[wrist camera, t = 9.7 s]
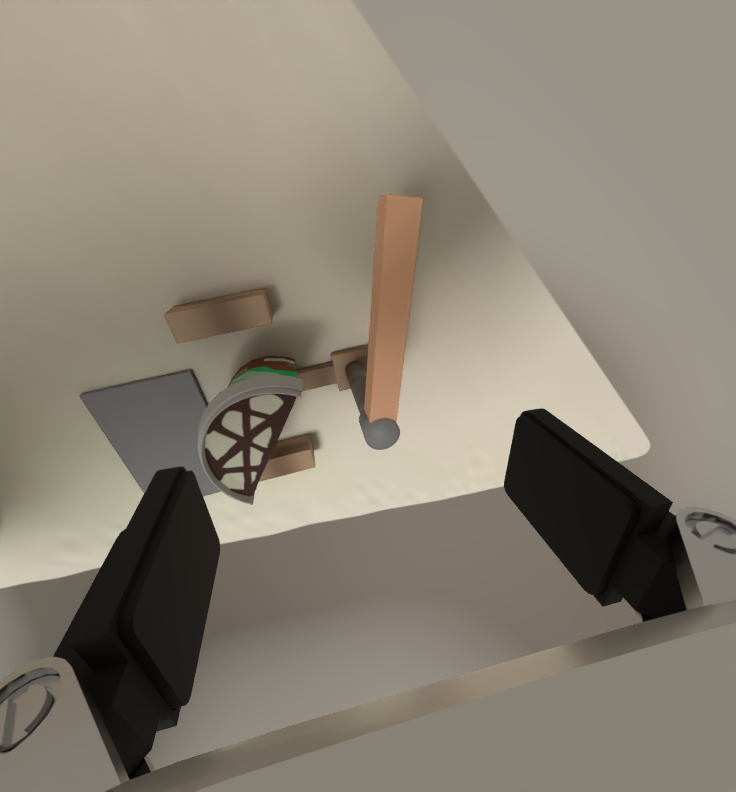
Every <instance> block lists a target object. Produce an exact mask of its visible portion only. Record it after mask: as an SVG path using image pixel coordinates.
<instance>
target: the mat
mask: <svg viewBox="0 0 736 792" xmlns="http://www.w3.org/2000/svg"><path fill="white" fill-rule="evenodd" d="M80 398H81V399H82V401H83V402H84V404H85V405H86V407H87V408H88V410H89V411H90V413H91V414H92V416H93V417H94V419H95V420H96V422H97V423H98V425H99V426H100V428H101V429H102V431H103V432H104V434H105V435H106V437H107V438H108V440H109V441H110V443H111V444H112V446H113V447H114V449H115V450H116V452H117V453H118V455H119V456H120V458H121V459H122V461H123V462H124V464H125V465H126V467H127V468H128V470H129V471H130V473H131V474H132V476H133V477H134V479H135V480H136V482H137V483H138V485H139V486H140V488H141V489H142V491H143V492H144V494H145V492H146V490H147V488H148V486H149V484H150V482H151V480H152V478H153V476H154V474H155V473H156V472H157V471H158V470H161V469H167V468H174V467H180V466H183V467H184V468H185V469H186V471H190V470H191V471H193V472H194V474H195V477H196V479H197V482H198V485H199V487H200V490H201V493H202V495H203V496H206V495H209V494H213V493H217V492H221V490H219V489H218V488H217V487H216V486H215V485H214V484H213V483H212V482H211V481H210V479H209V478H208V476H207V475H206V473H205V471H204V468H203V466H202V464H201V461H200V458H199V453H198V428H199V424H200V420H201V417H202V415H203V413H204V411H205V409H206V408H207V406H208V405H207V403H206V401H205V399H204V397H203V394H202V392H201V390H200V388H199V386H198V384H197V381H196V379H195V377H194V375H193V373H192V370H187V371H183V372H178V373H174V374H169V375H164V376H160V377H155V378H151V379H146V380H142V381H137V382H133V383H128V384H124V385H119V386H115V387H110V388H105V389H101V390H96V391H92V392H87V393H83V394H81V395H80Z"/></svg>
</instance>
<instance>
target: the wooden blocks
mask: <svg viewBox="0 0 736 792" xmlns="http://www.w3.org/2000/svg"><path fill="white" fill-rule="evenodd" d="M164 316H165V318H166V320H167V323H168V325H169V327H170V329H171V331H172V333H173V336H174V338H175V340H176V342H177V343H182V342H187V341H191V340H196V339H201V338H206V337H210V336H215V335H220V334H224V333H229V332H234V331H239V330H243V329H248V328H253V327H258V326H262V325H267V324H272V318H273V313H272V310H271V307H270V303H269V300H268V297H267V293H266V290H265V288H264V289H259V290H254V291H249V292H244V293H239V294H234V295H229V296H224V297H219V298H214V299H209V300H204V301H199V302H194V303H189V304H184V305H179V306H174V307H173V308H172V309H170V310H169V311H168V312H166V313H165V314H164ZM331 357H332V362H331V363H326V364H322V365H317V366H313V367H309V368H304V369H300V370H297V374H298V378H299V379H303V388H302V391H305V390H309V389H313V388H318V387H322V386H326V385H330V384H335V383H337V384H338V388H339V391H342V390H346V389H350V388H351V390H352V393H353V396H354V398H355V401H356V404H357V406H358V409H359V412H360V414H361V412H362V411H363V410H364V404H365V389H366V374H367V360H368V345H365V346H361V347H356V348H352V349H347V350H343V351H338V352H334V353H331ZM314 467H315V458H314V450H313V447H312V443H311V440H310V437H309V434H306V435H302V436H298V437H294V438H290V439H286V440H282V441H278V442H277V443H276V446H275V448H274V450H273V452H272V454H271V457H270V459H269V461H268V463H267V465H266V467H265V469H264V471H263V473H262V476H261V478H260V480H259V482H260V481H264V480H267V479H271V478H275V477H279V476H283V475H287V474H290V473H294V472H298V471H302V470H306V469H310V468H314Z"/></svg>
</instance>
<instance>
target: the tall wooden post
mask: <svg viewBox="0 0 736 792" xmlns="http://www.w3.org/2000/svg"><path fill="white" fill-rule="evenodd" d="M422 205H423V198H419V197H409V196H398V195H384V196H380V197H378V212H377V227H376V242H375V256H374V271H373V286H372V301H371V315H370V330H369V345H368V360H367V374H366V389H365V404H364V410H363V411H362V412H361V414H360V417H359V423H360V426H361V429H362V431H363V434H364V437H365V440H366V443H367V444H368V445H369V446H370V447H371V448H373V449H377V450H382V449H387V448H389V447H391V446H392V445H394V444H395V443H396V442H397V440H398V438H399V435H400V429H399V427H398V425H397V423H396V421H397V413H398V405H399V396H400V388H401V380H402V371H403V363H404V355H405V346H406V338H407V330H408V321H409V313H410V305H411V296H412V288H413V280H414V271H415V263H416V255H417V246H418V238H419V230H420V221H421V213H422Z"/></svg>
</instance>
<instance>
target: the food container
mask: <svg viewBox="0 0 736 792" xmlns="http://www.w3.org/2000/svg"><path fill="white" fill-rule="evenodd" d="M302 388H303V379H299V378H298V374H297V369H296V364H295V360H294V359H290V358H287V357H280V356H266V357H263V358H259V359H255V360H252V361H251V362H249V363H248V364H246V365H244V366H243V367H241V368H240V369H239V371H238V372H237V373H236V374H235V376H234V377H233V379H232V380H231V382H230V384H229V386H228V388H226V389H225V390H223V391H222V392H220V393H219V394H218V395H217V396H216V397H215V398H214V399H213V400H212V401H211V402H210V403H209V405H208V406H207V408H206V409H205V411H204V413H203V415H202V417H201V420H200V424H199V428H198V453H199V458H200V461H201V464H202V466H203V468H204V471H205V473H206V475H207V476H208V478H209V479H210V481H211V482H212V483H213V484H214V485H215V486H216V487H217V488H218V489H219V490H221V491H222V492H223V493H224V494H226V495H228V496H230V497H231V498H233V499H235V500H238V501H241V502H243V503H247V504H251V505H253V499H254V493H255V490H256V487H257V484H258V482H259V480H260V478H261V476H262V473H263V471H264V469H265V467H266V465H267V463H268V461H269V459H270V457H271V454H272V452H273V450H274V448H275V446H276V443H277V441H278V438H279V436H280V434H281V431H282V429H283V427H284V424H285V422H286V420H287V418H288V415H289V413H290V411H291V409H292V406H293V404H294V402H295V399H296V397H301V392H302Z"/></svg>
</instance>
